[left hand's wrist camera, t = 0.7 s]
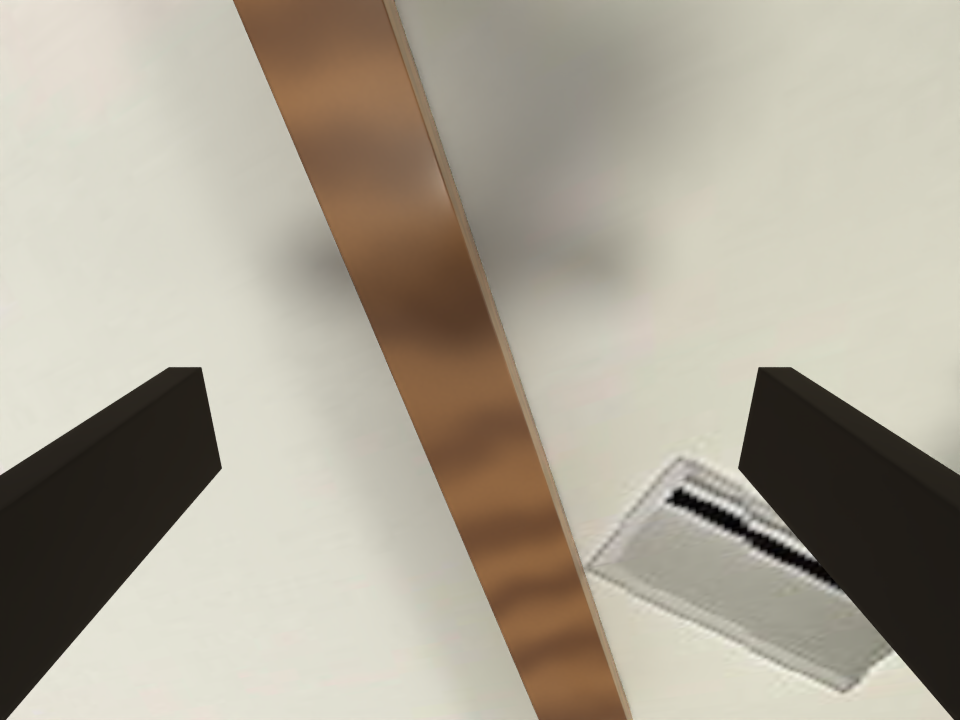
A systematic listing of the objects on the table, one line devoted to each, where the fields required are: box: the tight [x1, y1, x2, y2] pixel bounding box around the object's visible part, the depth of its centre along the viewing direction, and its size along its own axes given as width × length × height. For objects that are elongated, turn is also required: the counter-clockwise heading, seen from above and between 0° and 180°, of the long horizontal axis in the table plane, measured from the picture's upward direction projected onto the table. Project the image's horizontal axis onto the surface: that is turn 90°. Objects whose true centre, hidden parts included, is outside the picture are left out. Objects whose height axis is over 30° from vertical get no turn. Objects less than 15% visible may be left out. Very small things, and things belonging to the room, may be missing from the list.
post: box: [233, 0, 633, 720], centre depth 32 cm, size 58×6×8 cm, turn 19°
